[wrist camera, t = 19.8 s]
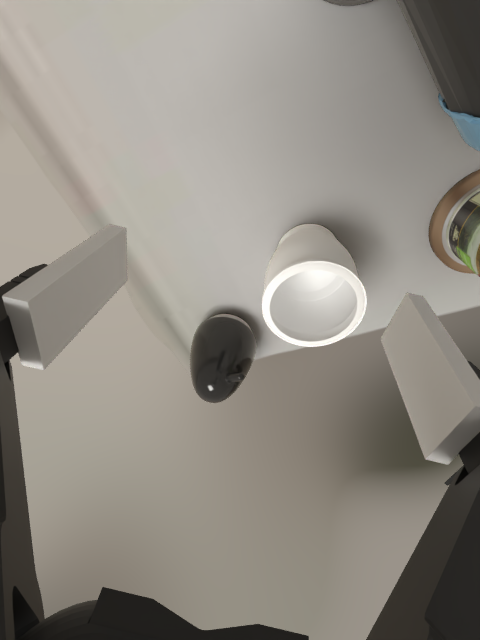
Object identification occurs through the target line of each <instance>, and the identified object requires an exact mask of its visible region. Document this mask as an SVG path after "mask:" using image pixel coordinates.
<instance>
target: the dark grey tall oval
mask: <svg viewBox="0 0 480 640" xmlns="http://www.w3.org/2000/svg"><path fill="white" fill-rule="evenodd" d="M256 348H257V343H256V338H255V336H254V334H253V332H252V330H251V328H250V327H249V325H248V324H247V323H246V322H245V321H244V320H242V319H241V318H239V317H237V316H234V315H231V314H219V315H215V316H213V317H211V318H209V319H208V320H206V321H204V322H203V323H201V324H200V325H199V327H198V328H197V330H196V332H195V334H194V337H193V341H192V346H191V353H190V372H191V379H192V383H193V386H194V388H195V391H196V393H197V394H198V395H199V397H200V398H202V399H203V400H205V401H207V402H210V403H218V402H221V401H223V400H226V399H227V398H229V397H230V396H231V395H232V394H233V393H234V392H235V391H236V390H237V389H238V388H239V386H240V385H241V383H242V382H243V380H244V379H245V377H246V375H247V374H248V372H249V370H250V368H251V365H252V362H253V360H254V357H255V354H256Z"/></svg>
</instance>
